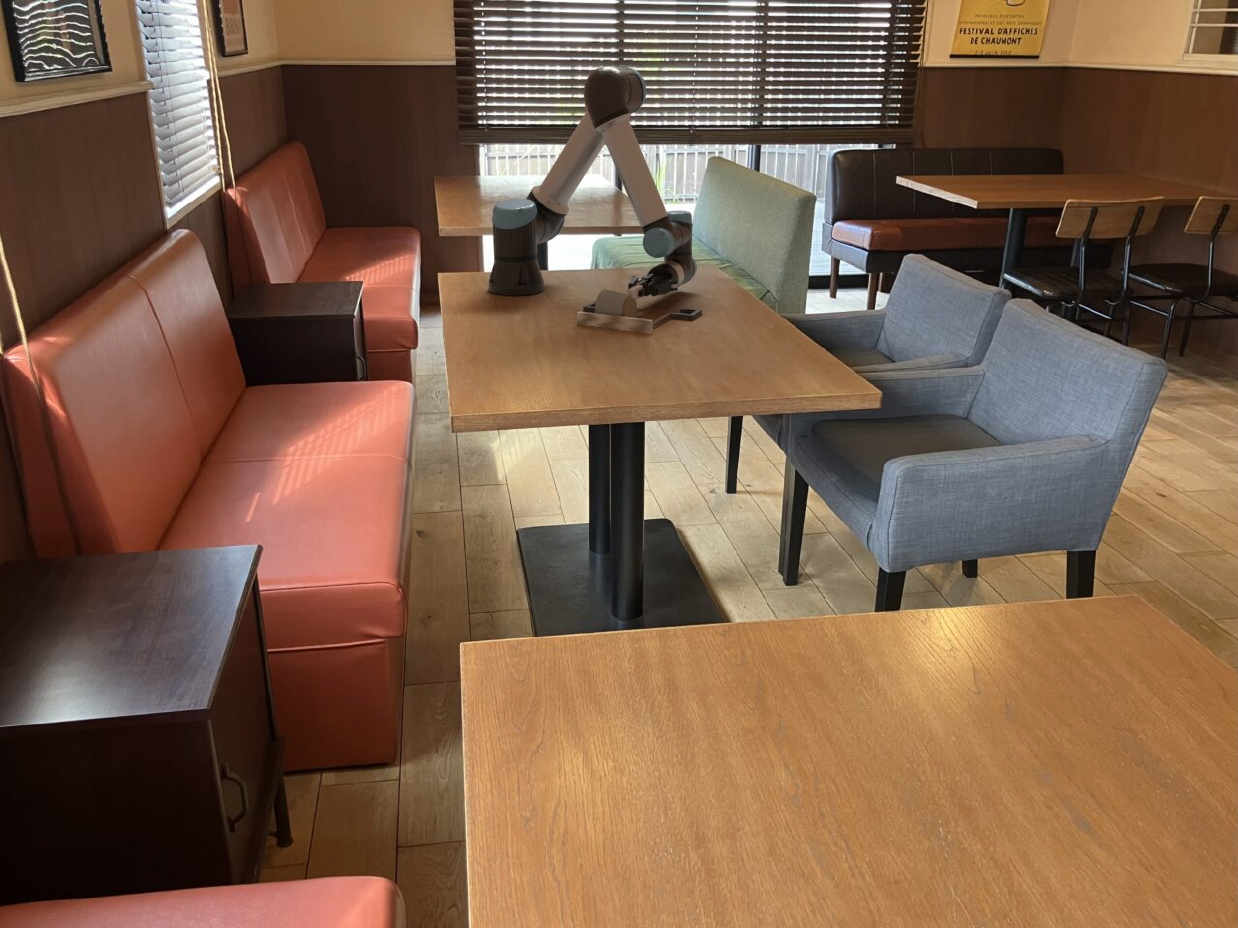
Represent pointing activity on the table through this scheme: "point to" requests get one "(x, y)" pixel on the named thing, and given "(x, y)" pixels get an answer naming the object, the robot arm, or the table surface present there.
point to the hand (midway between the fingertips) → (629, 296)
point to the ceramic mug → (615, 304)
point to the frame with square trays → (630, 319)
